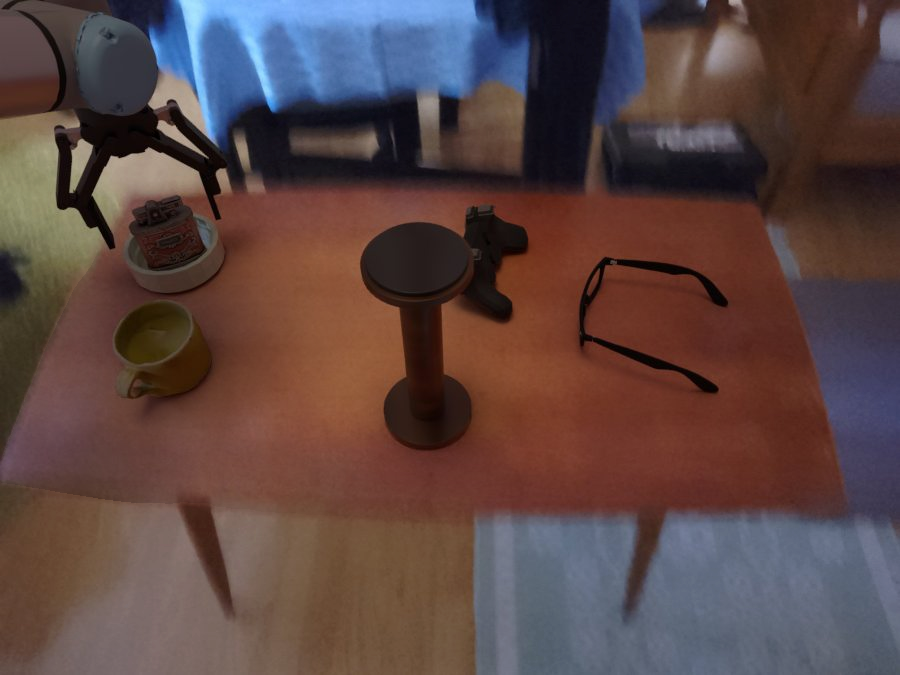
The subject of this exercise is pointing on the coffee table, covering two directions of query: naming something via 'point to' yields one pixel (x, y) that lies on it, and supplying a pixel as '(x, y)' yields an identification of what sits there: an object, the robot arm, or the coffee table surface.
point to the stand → (421, 327)
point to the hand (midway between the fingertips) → (165, 228)
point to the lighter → (167, 234)
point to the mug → (160, 350)
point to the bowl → (184, 275)
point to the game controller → (490, 256)
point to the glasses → (635, 355)
